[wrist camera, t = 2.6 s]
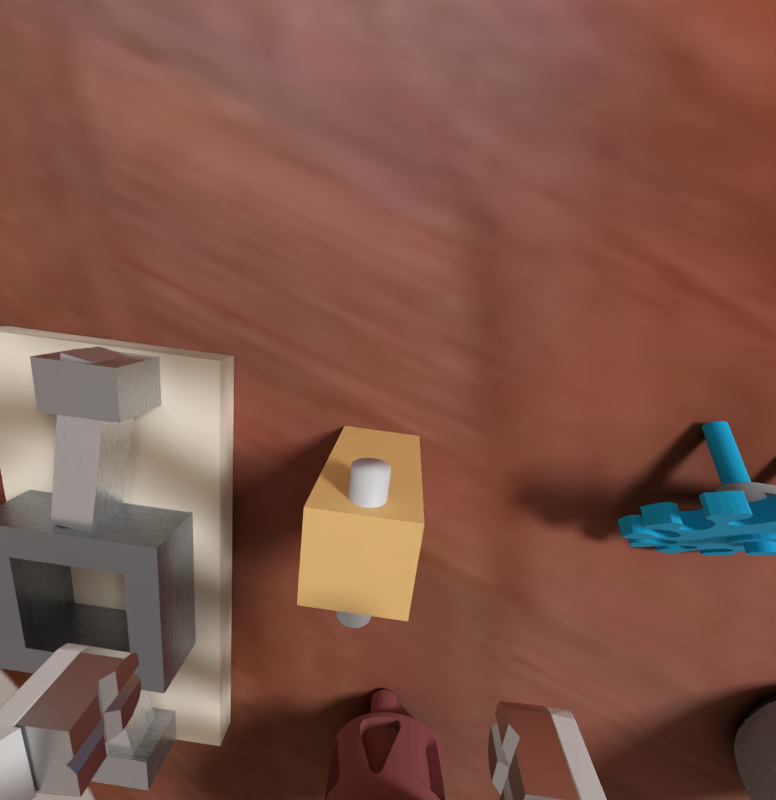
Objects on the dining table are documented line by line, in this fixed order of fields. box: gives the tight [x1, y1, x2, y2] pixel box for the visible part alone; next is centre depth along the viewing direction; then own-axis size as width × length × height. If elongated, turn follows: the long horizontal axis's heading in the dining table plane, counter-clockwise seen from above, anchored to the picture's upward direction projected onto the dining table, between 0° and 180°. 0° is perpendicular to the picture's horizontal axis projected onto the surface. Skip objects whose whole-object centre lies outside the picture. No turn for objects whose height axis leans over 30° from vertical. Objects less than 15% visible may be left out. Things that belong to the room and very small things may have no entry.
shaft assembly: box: [0, 346, 196, 790], centre depth 20 cm, size 26×9×3 cm, turn 173°
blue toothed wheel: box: [618, 421, 776, 556], centre depth 17 cm, size 11×6×10 cm
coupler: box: [297, 426, 424, 628], centre depth 17 cm, size 6×4×8 cm, turn 173°
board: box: [0, 326, 234, 746], centre depth 22 cm, size 26×12×2 cm, turn 173°
